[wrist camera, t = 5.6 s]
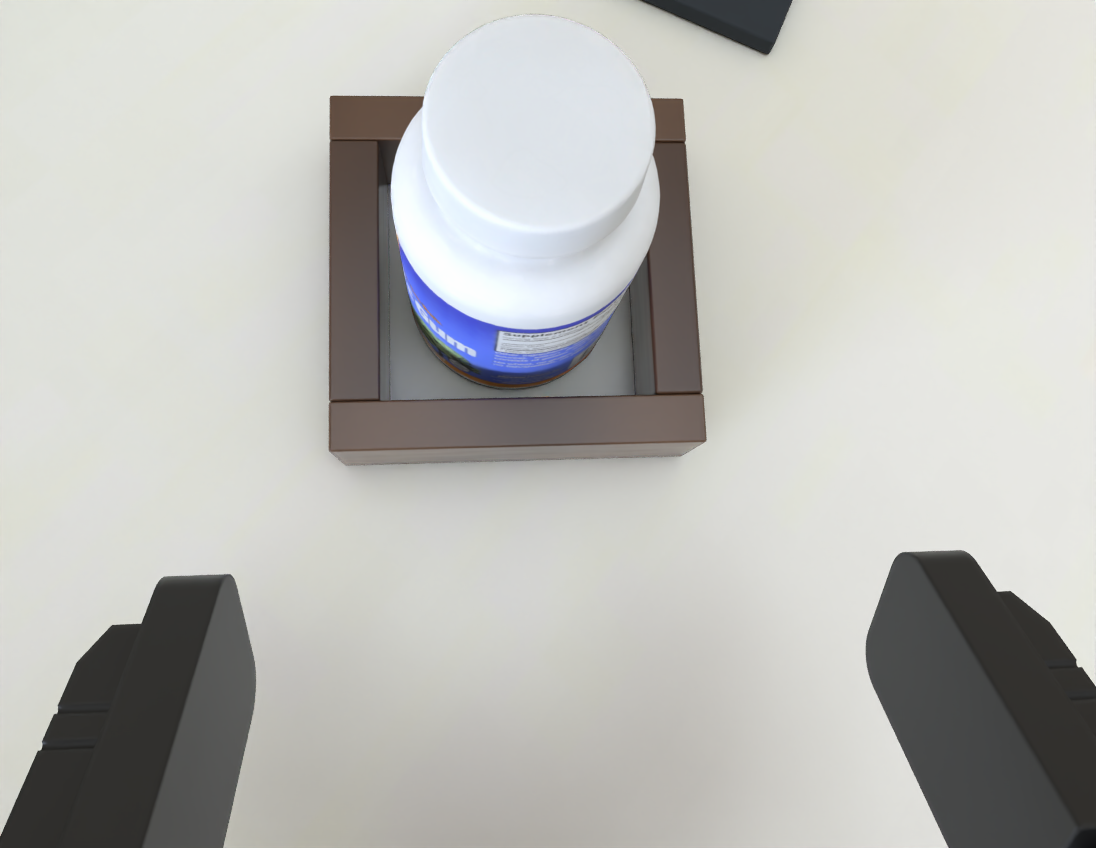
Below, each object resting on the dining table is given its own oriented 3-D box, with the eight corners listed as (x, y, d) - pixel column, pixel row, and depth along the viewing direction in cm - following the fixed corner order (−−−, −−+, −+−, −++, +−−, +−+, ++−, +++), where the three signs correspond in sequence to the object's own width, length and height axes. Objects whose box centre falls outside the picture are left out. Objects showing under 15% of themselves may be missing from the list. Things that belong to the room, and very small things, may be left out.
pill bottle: (382, 240, 24) (324, 21, 15) (565, 179, 25) (621, -67, 15) (453, 424, 24) (439, 318, 14) (638, 354, 24) (745, 210, 15)
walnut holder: (344, 465, 23) (328, 451, 21) (344, 144, 25) (329, 94, 22) (682, 456, 24) (707, 441, 21) (662, 145, 25) (683, 98, 23)
